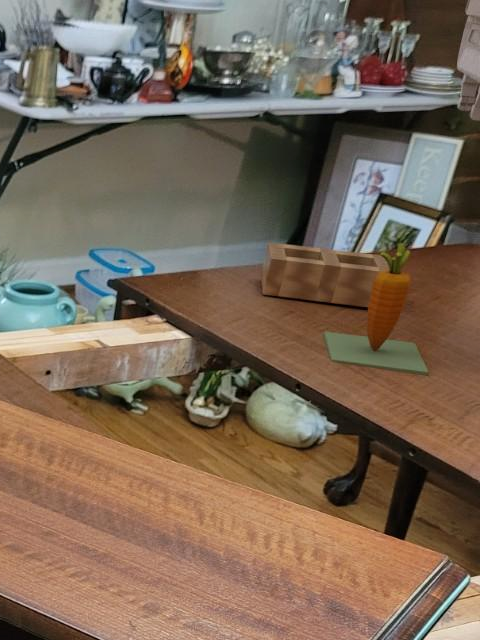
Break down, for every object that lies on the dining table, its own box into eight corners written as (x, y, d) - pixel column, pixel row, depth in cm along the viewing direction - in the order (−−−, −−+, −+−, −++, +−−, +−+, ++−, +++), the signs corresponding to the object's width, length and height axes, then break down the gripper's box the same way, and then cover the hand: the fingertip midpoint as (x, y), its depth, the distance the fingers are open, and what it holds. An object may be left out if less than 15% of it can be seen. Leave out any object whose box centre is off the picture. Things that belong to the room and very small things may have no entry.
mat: (413, 348, 164) (415, 342, 164) (427, 377, 153) (429, 372, 153) (322, 336, 166) (324, 331, 166) (330, 364, 156) (331, 359, 155)
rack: (376, 291, 189) (387, 255, 186) (384, 309, 180) (396, 272, 177) (260, 277, 193) (268, 242, 189) (262, 294, 184) (271, 258, 180)
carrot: (379, 359, 156) (408, 252, 148) (349, 349, 160) (375, 244, 152) (399, 352, 159) (428, 247, 151) (368, 342, 162) (395, 239, 154)
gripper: (550, 10, 138) (510, 128, 145) (513, 1, 155) (479, 107, 162) (496, 6, 139) (459, 123, 146) (466, -3, 156) (434, 103, 163)
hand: (469, 114), depth 154 cm, fingers open, 8 cm apart
